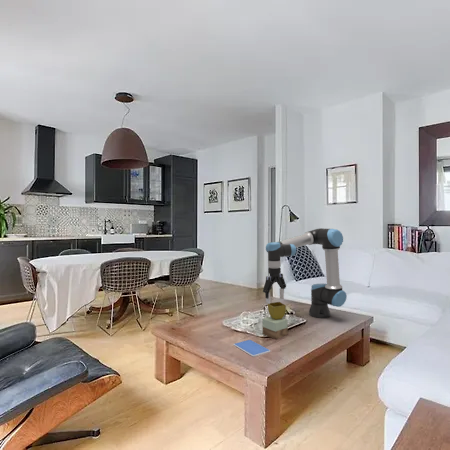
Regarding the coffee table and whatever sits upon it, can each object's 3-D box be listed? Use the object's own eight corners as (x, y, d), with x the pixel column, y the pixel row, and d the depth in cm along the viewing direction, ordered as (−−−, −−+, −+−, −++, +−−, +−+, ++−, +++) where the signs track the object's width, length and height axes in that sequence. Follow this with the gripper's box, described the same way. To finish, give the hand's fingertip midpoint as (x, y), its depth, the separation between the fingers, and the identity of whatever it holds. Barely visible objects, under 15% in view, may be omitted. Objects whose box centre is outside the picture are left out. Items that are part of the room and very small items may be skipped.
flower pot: (273, 321, 198) (273, 306, 198) (267, 317, 206) (267, 303, 206) (286, 319, 201) (286, 305, 201) (279, 315, 209) (279, 301, 209)
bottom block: (273, 330, 210) (273, 322, 210) (287, 335, 202) (287, 327, 202) (262, 334, 203) (262, 327, 203) (276, 339, 195) (276, 331, 195)
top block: (274, 322, 210) (274, 315, 210) (287, 327, 201) (287, 319, 201) (262, 326, 203) (262, 318, 203) (275, 331, 195) (275, 323, 194)
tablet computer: (232, 345, 187) (232, 343, 187) (250, 341, 194) (250, 338, 194) (253, 358, 171) (253, 355, 171) (271, 352, 178) (271, 350, 177)
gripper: (281, 264, 212) (282, 296, 213) (256, 269, 195) (257, 304, 196) (291, 265, 207) (291, 298, 208) (266, 270, 190) (266, 306, 191)
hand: (275, 301), depth 202 cm, fingers open, 13 cm apart
